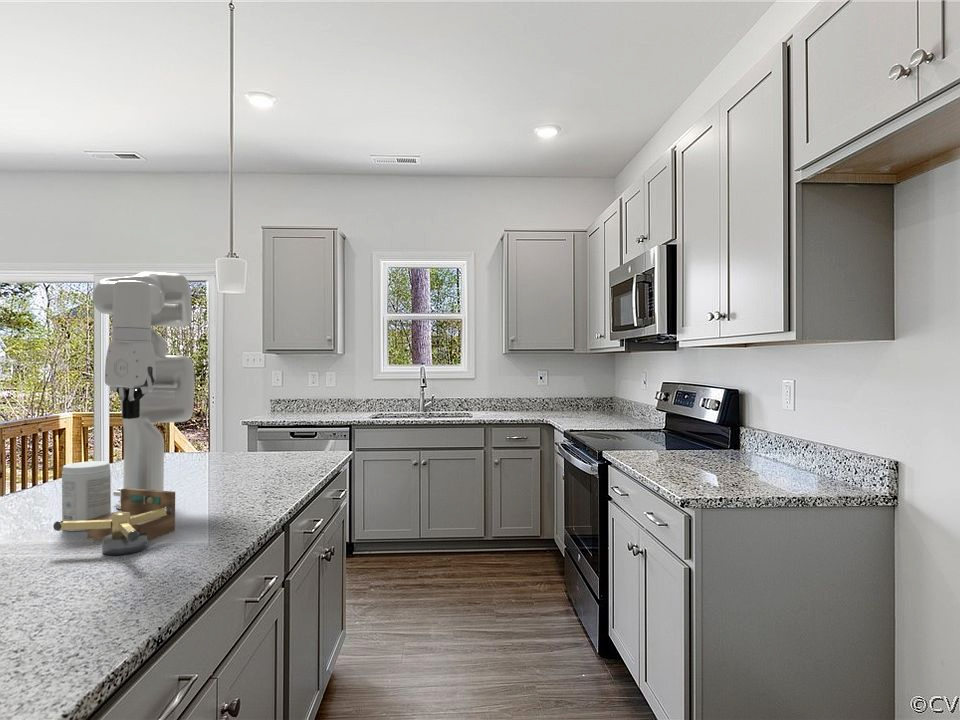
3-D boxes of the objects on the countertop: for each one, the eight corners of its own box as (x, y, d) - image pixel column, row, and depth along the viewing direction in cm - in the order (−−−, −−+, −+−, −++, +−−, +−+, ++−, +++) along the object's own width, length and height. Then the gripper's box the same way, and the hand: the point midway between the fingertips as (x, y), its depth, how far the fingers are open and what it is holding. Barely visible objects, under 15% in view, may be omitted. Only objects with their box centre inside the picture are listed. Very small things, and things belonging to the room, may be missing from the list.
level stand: (87, 537, 133) (88, 496, 133) (124, 526, 142) (125, 487, 142) (139, 543, 129) (140, 501, 129) (174, 531, 139) (175, 491, 139)
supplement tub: (112, 519, 148) (113, 459, 148) (108, 529, 139) (109, 465, 139) (65, 524, 144) (66, 462, 144) (57, 534, 135) (58, 468, 135)
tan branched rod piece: (64, 577, 108) (65, 536, 108) (52, 551, 122) (52, 515, 122) (194, 553, 122) (195, 517, 122) (169, 533, 137) (170, 500, 137)
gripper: (90, 335, 134) (89, 418, 134) (145, 336, 130) (144, 422, 130) (118, 336, 141) (118, 414, 142) (172, 337, 137) (171, 418, 138)
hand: (131, 418), depth 136 cm, fingers closed
